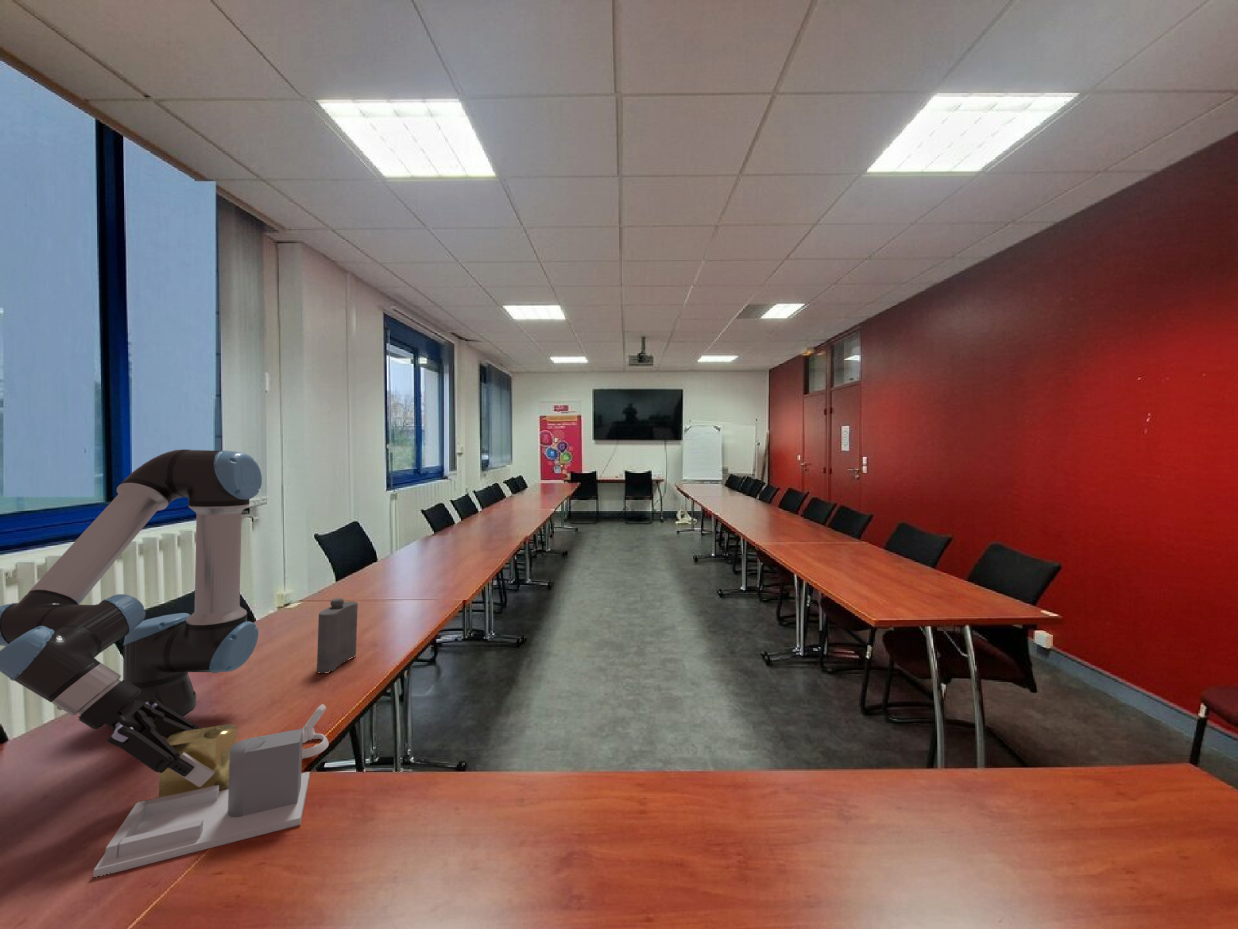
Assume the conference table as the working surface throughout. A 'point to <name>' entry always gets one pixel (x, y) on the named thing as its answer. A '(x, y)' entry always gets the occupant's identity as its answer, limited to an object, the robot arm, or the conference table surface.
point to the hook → (310, 734)
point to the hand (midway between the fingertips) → (213, 769)
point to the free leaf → (201, 757)
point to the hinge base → (217, 807)
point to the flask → (336, 634)
